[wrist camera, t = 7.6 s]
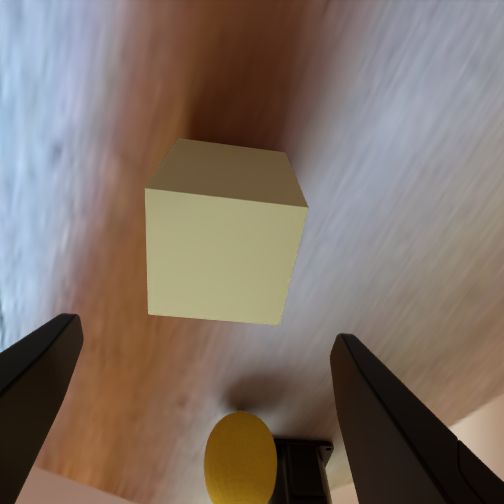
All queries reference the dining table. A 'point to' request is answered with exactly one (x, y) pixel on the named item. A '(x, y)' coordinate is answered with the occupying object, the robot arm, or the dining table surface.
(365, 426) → the robot arm
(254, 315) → the cream rectangular block
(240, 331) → the dining table surface
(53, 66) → the dining table surface
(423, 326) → the dining table surface
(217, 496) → the lemon
